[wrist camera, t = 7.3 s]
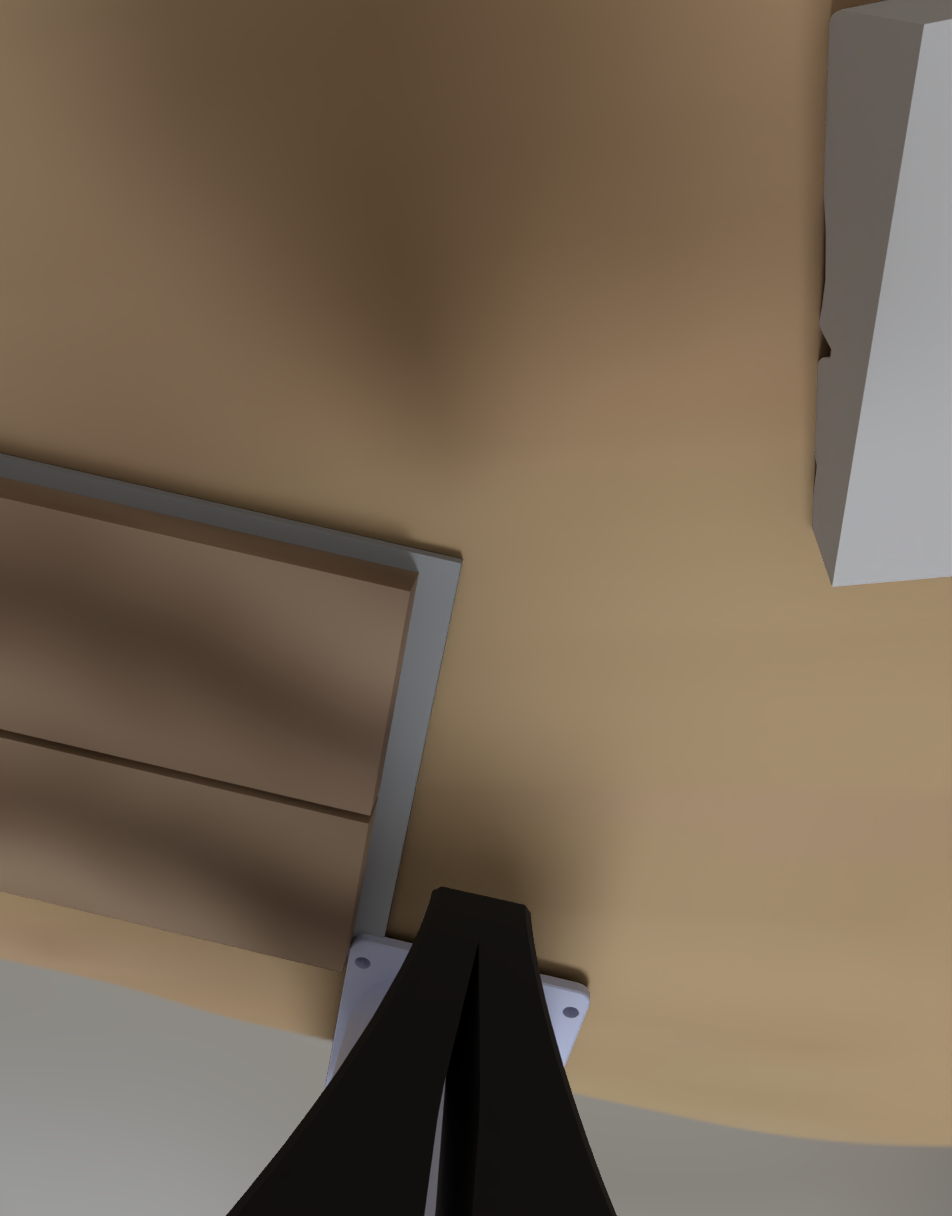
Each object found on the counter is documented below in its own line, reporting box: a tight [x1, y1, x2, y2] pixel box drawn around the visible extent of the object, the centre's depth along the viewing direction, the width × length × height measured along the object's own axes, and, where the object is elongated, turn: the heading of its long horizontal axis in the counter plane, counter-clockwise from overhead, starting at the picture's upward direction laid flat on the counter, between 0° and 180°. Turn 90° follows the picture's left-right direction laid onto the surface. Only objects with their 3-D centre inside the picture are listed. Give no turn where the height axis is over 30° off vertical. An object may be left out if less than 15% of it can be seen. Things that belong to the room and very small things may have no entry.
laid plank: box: [0, 729, 378, 972], centre depth 23 cm, size 6×14×1 cm, turn 79°
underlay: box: [0, 453, 463, 951], centre depth 22 cm, size 14×16×1 cm
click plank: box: [0, 477, 419, 816], centre depth 20 cm, size 7×14×1 cm, turn 79°
